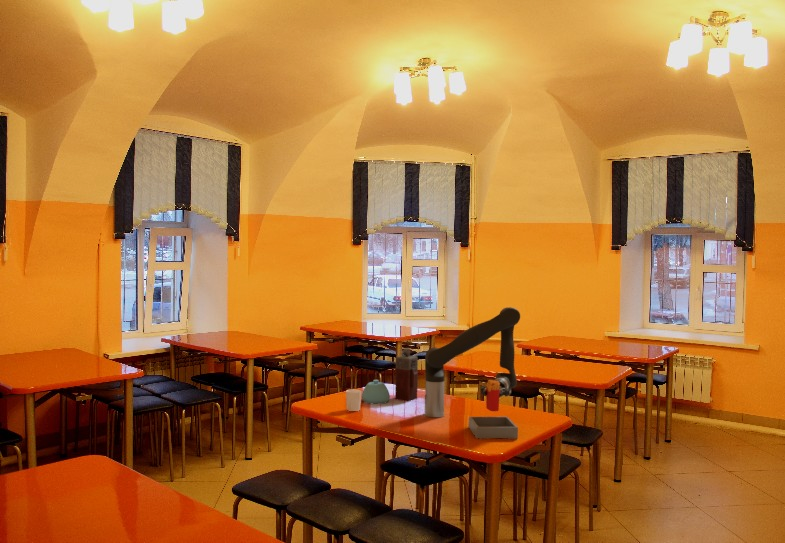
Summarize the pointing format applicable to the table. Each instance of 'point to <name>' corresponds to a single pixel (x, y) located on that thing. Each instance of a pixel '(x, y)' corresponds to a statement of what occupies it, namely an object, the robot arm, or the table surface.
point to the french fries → (492, 395)
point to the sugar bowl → (375, 393)
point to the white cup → (353, 399)
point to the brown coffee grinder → (406, 376)
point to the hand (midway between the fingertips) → (491, 394)
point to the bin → (493, 427)
